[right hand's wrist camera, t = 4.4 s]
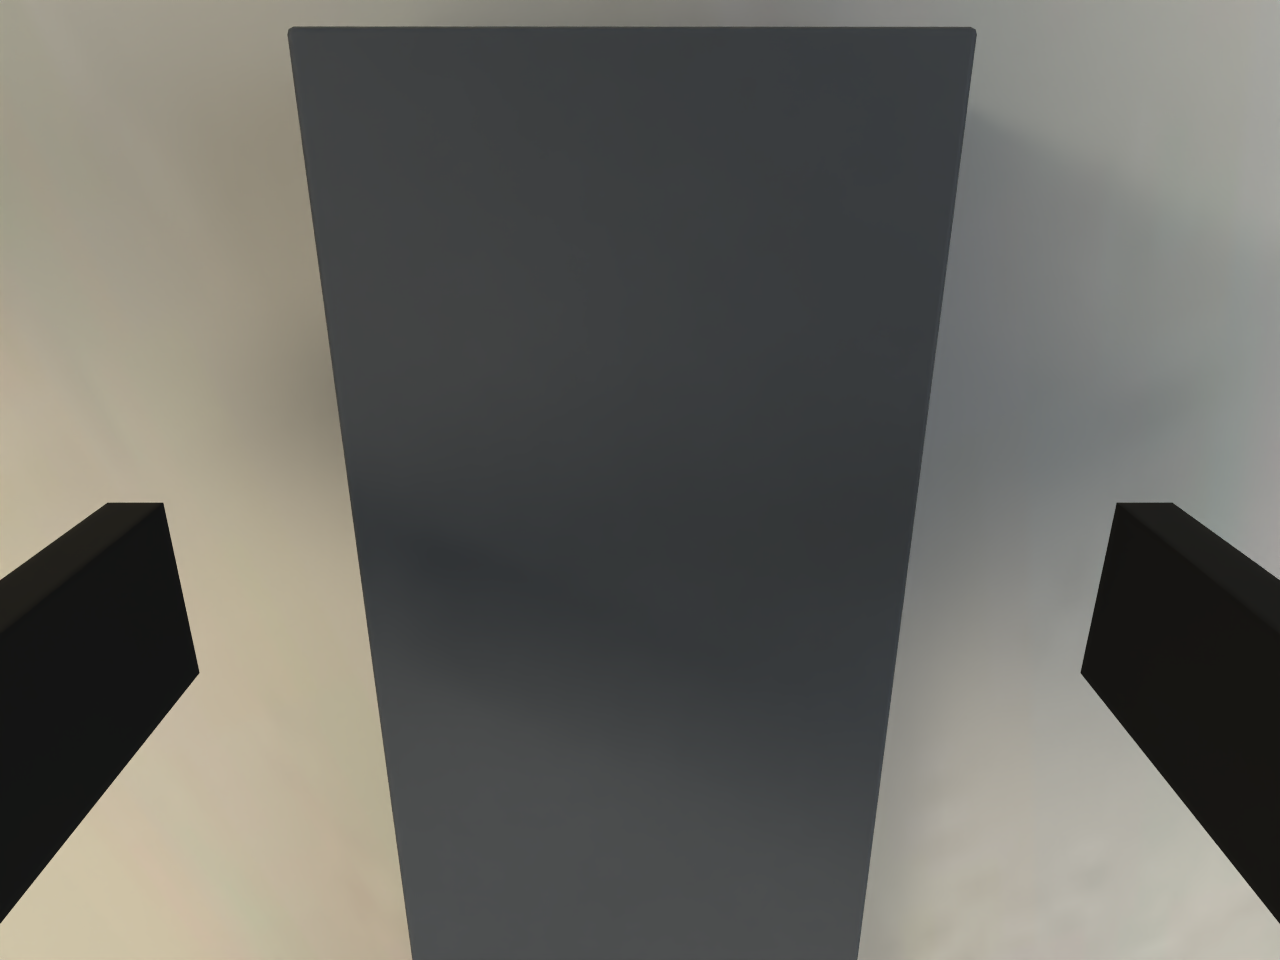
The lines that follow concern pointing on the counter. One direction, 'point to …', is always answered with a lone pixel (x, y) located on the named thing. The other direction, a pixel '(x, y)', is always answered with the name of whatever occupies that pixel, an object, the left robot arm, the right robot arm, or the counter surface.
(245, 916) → the counter surface
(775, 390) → the thick board
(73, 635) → the right robot arm
